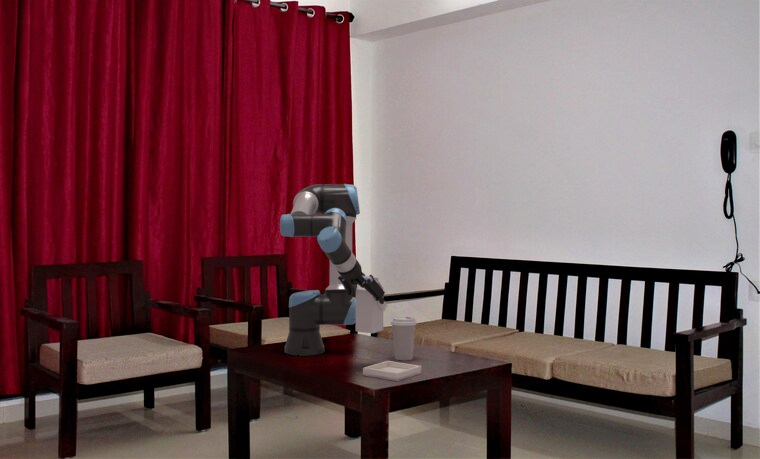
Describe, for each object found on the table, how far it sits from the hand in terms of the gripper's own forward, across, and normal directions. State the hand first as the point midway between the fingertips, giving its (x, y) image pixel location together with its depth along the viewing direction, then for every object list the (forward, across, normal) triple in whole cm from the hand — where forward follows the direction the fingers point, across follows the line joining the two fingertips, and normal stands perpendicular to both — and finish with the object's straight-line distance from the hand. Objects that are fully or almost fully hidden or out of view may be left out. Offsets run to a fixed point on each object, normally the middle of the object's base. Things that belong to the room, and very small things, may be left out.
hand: (375, 307), depth 263 cm
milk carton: (+3, 0, -8) cm, 9 cm away
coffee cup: (+24, +3, -5) cm, 25 cm away
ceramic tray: (+7, +14, -21) cm, 26 cm away
